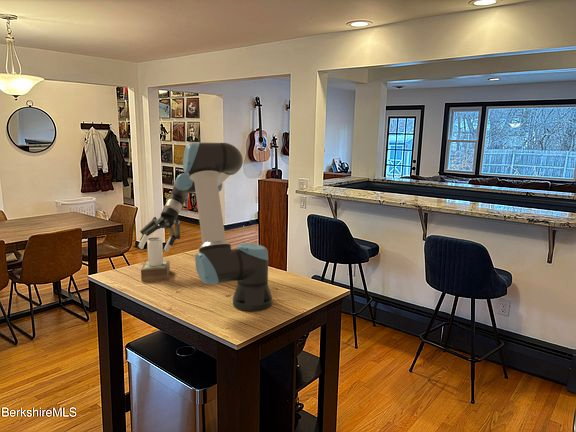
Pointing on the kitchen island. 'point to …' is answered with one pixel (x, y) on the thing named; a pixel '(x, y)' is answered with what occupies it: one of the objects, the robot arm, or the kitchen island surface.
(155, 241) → the can
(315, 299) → the kitchen island surface
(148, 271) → the plinth
